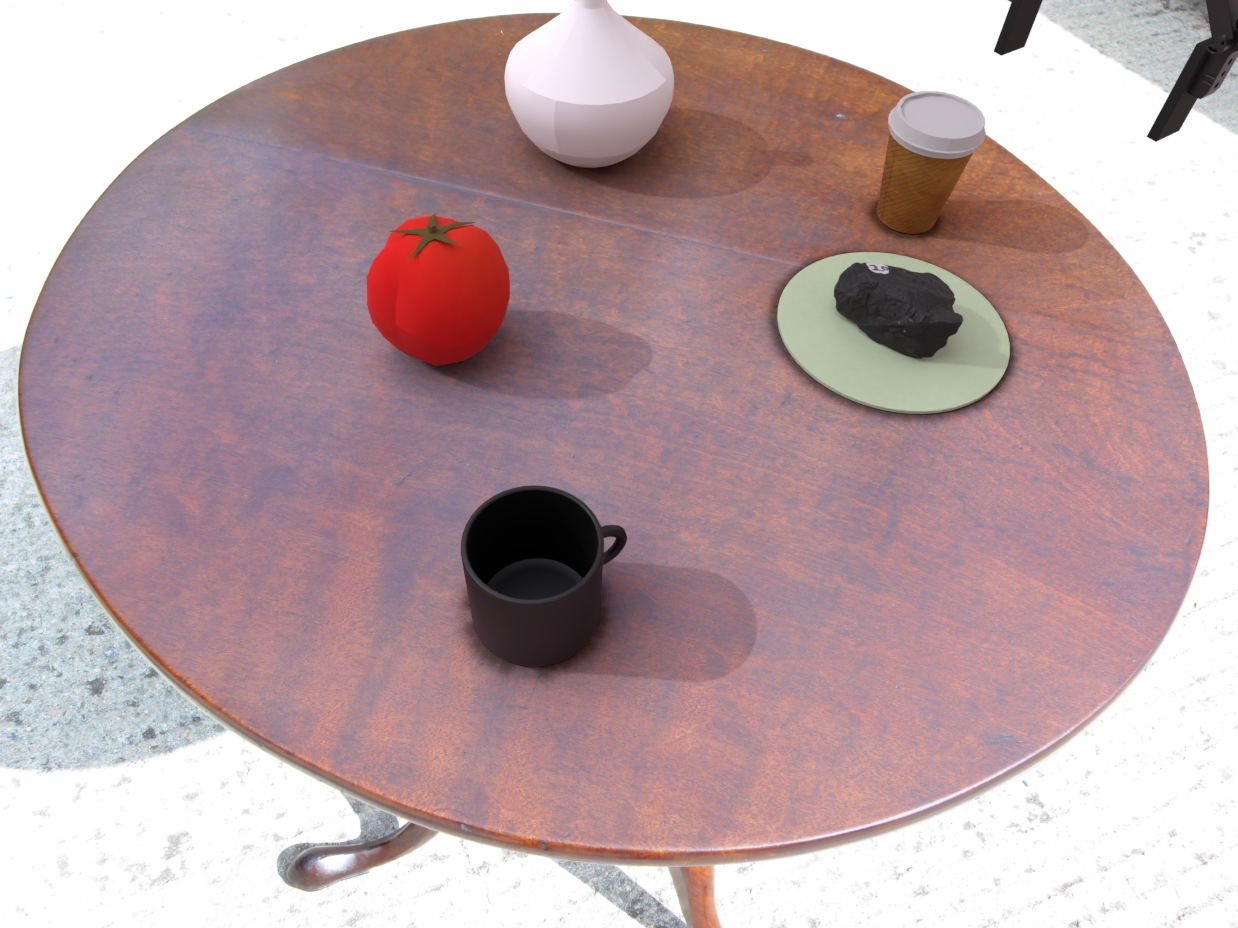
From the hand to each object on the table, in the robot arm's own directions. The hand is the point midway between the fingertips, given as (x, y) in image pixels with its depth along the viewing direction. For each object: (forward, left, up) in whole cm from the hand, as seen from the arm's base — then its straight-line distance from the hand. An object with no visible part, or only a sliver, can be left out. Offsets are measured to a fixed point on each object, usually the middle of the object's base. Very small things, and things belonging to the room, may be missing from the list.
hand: (1081, 90), depth 67 cm
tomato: (+25, +41, -26) cm, 55 cm away
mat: (+5, +4, -26) cm, 27 cm away
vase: (+46, +12, -26) cm, 54 cm away
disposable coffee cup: (+17, -10, -26) cm, 33 cm away
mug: (-3, +47, -26) cm, 54 cm away
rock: (+5, +4, -26) cm, 26 cm away
